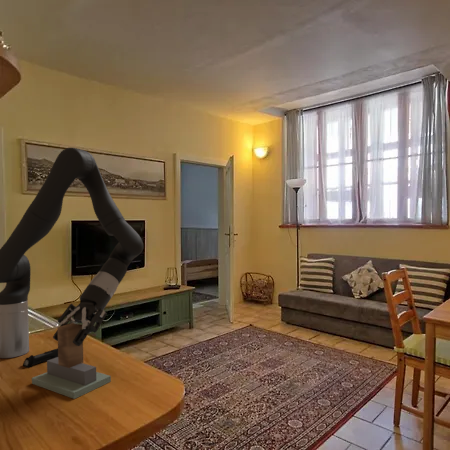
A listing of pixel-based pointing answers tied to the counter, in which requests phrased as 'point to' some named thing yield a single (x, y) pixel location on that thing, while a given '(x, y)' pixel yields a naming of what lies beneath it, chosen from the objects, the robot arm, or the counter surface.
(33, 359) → the electric trimmer
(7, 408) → the counter surface
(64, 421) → the counter surface
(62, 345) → the brown wooden block
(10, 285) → the robot arm
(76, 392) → the ridge board
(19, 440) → the counter surface
